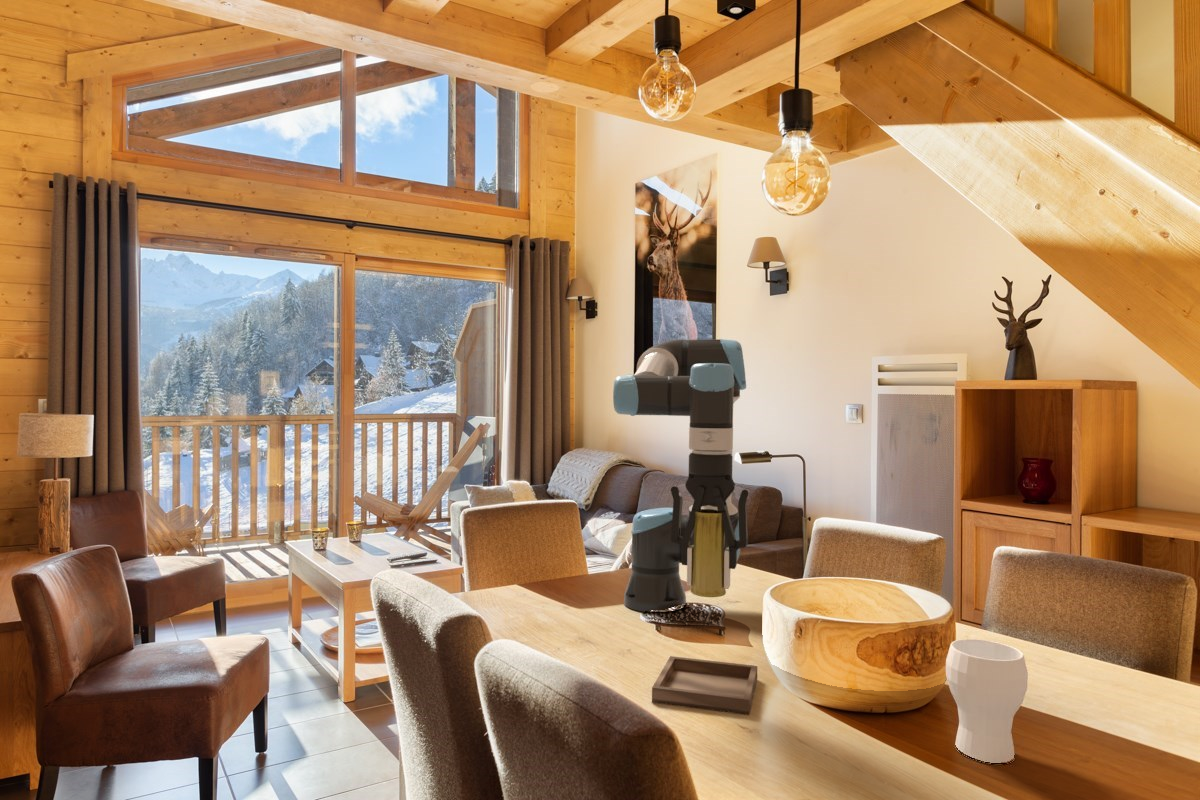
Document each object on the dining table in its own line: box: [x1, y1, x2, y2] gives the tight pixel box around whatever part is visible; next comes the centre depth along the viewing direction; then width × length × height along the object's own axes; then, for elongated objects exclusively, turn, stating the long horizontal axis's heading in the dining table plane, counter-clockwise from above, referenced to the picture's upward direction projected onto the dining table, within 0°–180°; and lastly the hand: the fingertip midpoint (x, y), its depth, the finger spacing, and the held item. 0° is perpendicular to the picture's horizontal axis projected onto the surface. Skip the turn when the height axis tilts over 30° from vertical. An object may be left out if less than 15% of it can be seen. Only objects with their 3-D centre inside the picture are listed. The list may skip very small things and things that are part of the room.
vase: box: [690, 509, 727, 598], centre depth 132 cm, size 6×6×14 cm
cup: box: [945, 638, 1029, 764], centre depth 111 cm, size 11×11×15 cm
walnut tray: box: [651, 655, 758, 716], centre depth 132 cm, size 16×16×2 cm
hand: (708, 585), depth 132 cm, fingers closed on vase, 6 cm apart
